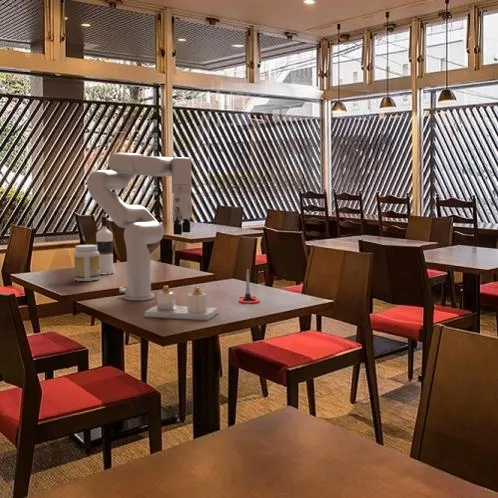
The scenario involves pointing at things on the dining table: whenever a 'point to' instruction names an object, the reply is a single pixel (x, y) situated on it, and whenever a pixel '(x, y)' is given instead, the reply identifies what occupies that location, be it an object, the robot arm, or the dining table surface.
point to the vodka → (105, 247)
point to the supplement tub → (86, 263)
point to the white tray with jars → (177, 307)
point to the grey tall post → (248, 293)
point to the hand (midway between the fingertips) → (182, 233)
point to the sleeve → (197, 302)
